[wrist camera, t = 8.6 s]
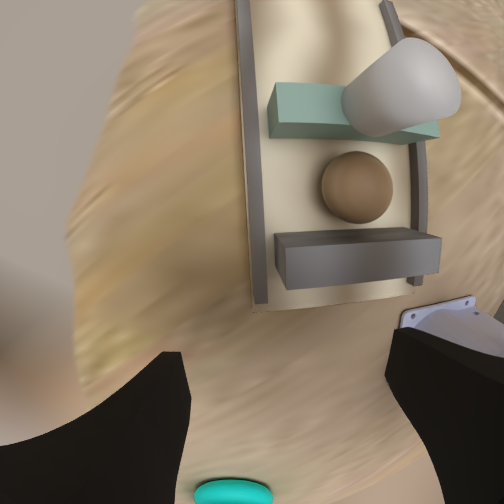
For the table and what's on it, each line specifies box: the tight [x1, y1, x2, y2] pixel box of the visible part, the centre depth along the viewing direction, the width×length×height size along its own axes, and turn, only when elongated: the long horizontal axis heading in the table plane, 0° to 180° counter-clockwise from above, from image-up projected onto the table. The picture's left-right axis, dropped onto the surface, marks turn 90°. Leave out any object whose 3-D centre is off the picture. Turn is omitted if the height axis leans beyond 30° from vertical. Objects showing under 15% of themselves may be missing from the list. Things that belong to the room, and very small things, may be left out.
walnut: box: [322, 151, 393, 224], centre depth 14 cm, size 4×4×4 cm
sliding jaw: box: [267, 38, 461, 145], centre depth 10 cm, size 9×3×9 cm, turn 93°
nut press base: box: [235, 0, 442, 313], centre depth 14 cm, size 12×24×6 cm, turn 3°
